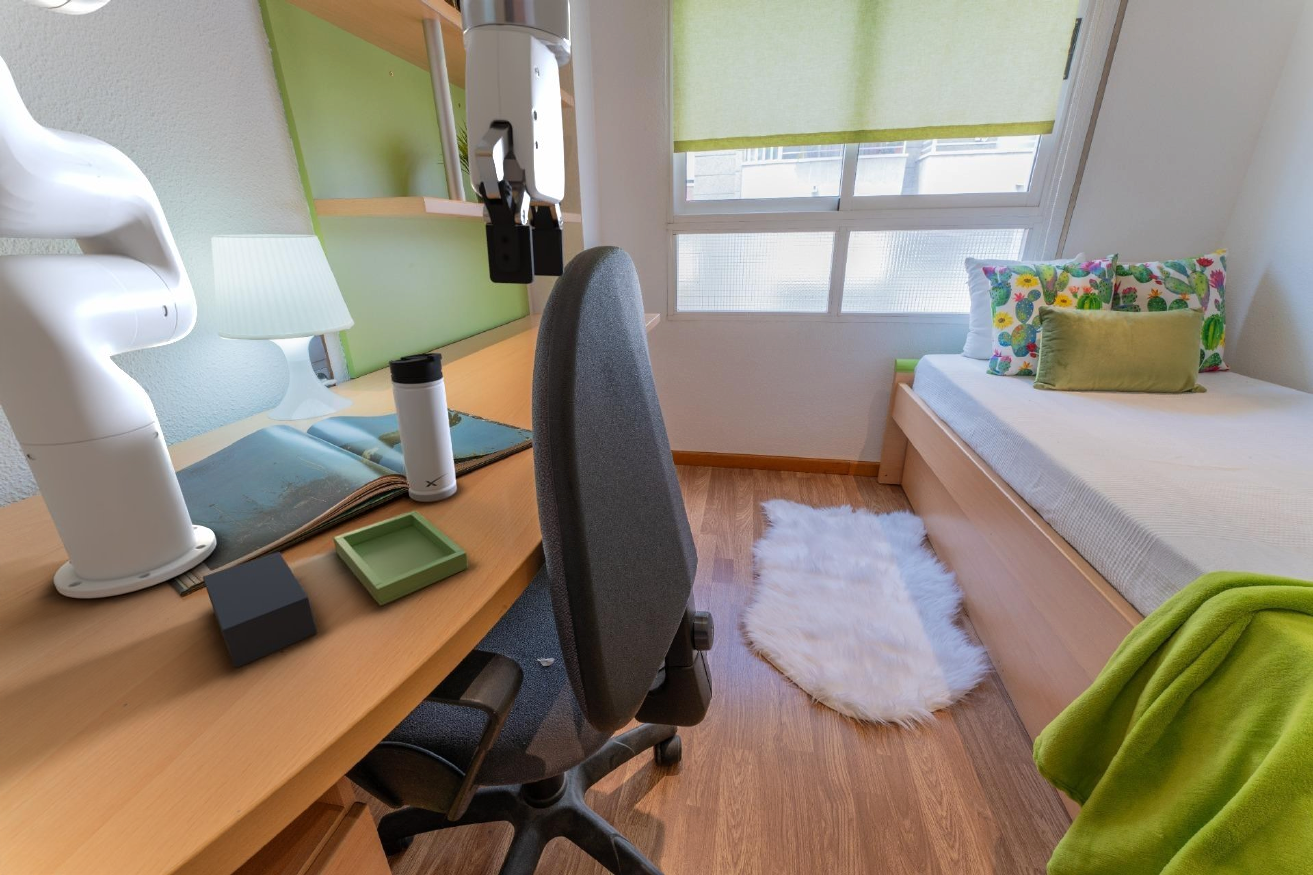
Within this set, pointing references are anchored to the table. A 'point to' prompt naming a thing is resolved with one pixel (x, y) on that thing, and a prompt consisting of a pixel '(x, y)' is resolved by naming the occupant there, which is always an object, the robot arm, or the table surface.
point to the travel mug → (424, 426)
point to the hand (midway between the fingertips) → (531, 279)
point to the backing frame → (399, 556)
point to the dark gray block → (259, 607)
